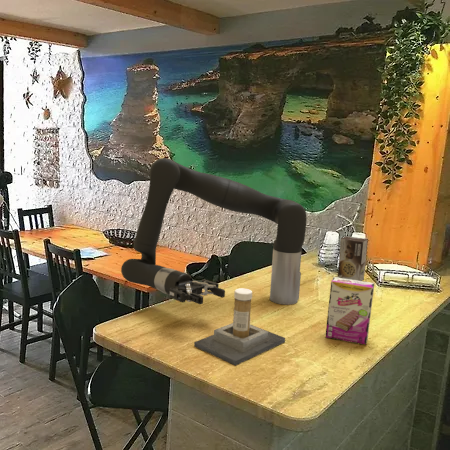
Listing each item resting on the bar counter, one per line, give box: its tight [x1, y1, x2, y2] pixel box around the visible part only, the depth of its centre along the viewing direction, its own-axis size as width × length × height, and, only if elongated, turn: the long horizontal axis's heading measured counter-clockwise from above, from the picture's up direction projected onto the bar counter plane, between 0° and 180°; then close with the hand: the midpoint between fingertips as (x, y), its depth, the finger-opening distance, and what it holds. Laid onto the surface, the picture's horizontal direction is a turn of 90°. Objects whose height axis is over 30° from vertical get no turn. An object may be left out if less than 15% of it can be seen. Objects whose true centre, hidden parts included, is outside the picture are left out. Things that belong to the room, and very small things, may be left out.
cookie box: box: [337, 235, 369, 281], centre depth 191 cm, size 9×6×16 cm
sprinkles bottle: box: [232, 287, 253, 339], centre depth 127 cm, size 5×5×13 cm
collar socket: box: [193, 322, 286, 366], centre depth 128 cm, size 20×14×4 cm
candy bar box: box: [324, 276, 375, 346], centre depth 134 cm, size 11×5×16 cm, turn 70°
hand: (213, 297), depth 133 cm, fingers open, 8 cm apart
